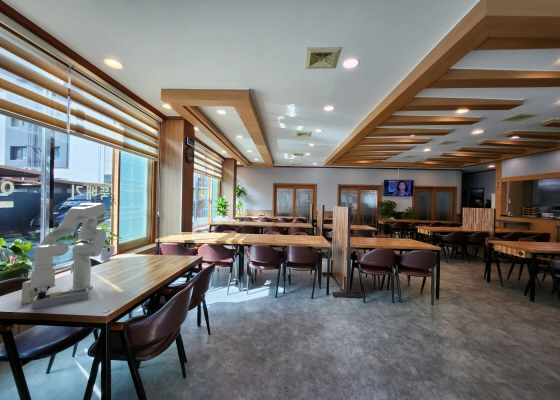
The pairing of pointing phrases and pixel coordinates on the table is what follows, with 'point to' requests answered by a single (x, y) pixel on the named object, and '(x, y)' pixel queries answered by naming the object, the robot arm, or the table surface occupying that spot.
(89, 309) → the table surface
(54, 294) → the maple block
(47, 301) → the grey shallow box
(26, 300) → the skincare box
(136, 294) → the table surface
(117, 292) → the table surface
